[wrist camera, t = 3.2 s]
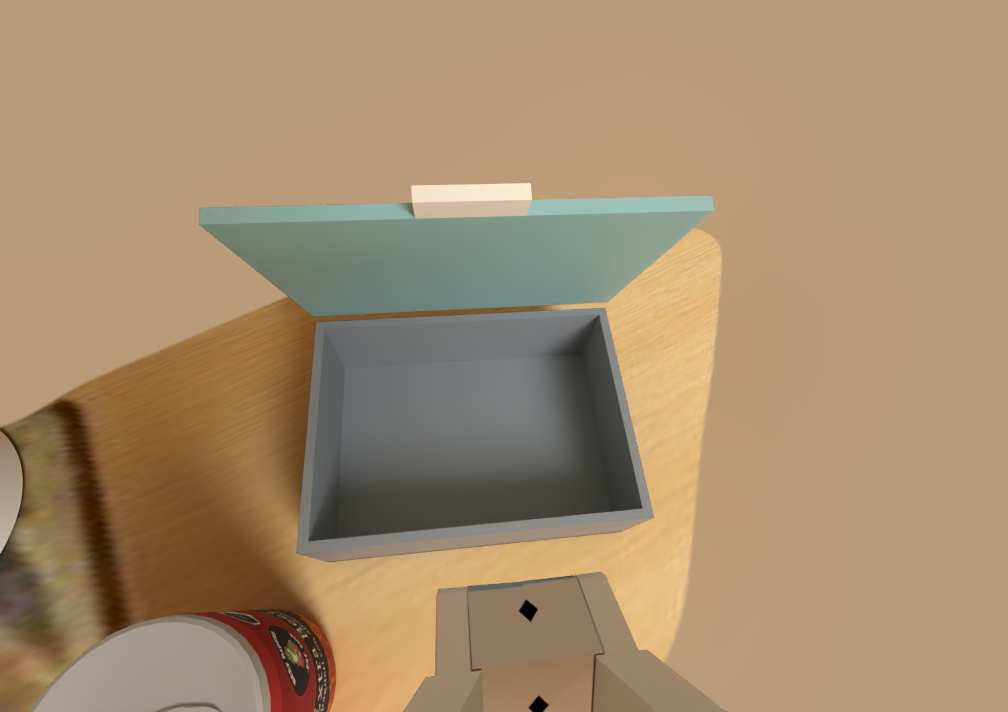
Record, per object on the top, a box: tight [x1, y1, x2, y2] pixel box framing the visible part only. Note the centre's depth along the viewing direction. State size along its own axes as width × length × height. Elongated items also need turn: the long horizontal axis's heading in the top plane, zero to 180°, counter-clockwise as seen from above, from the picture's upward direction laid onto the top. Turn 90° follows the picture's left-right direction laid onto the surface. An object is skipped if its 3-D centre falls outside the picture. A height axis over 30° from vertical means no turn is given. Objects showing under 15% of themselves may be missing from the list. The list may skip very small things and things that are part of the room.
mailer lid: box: [199, 183, 714, 316], centre depth 23 cm, size 18×14×1 cm
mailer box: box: [296, 308, 654, 562], centre depth 29 cm, size 18×13×6 cm
